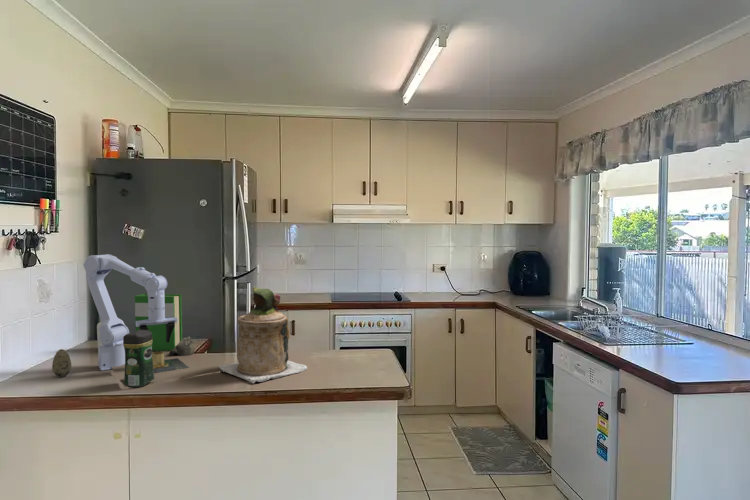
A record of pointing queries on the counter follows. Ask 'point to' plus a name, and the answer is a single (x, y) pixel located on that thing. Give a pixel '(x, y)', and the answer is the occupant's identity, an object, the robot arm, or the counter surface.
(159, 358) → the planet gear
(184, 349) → the fossil
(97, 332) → the pill bottle
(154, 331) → the hardback book
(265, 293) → the cookie jar
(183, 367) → the carrier
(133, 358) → the coffee jar
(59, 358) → the decorative egg
